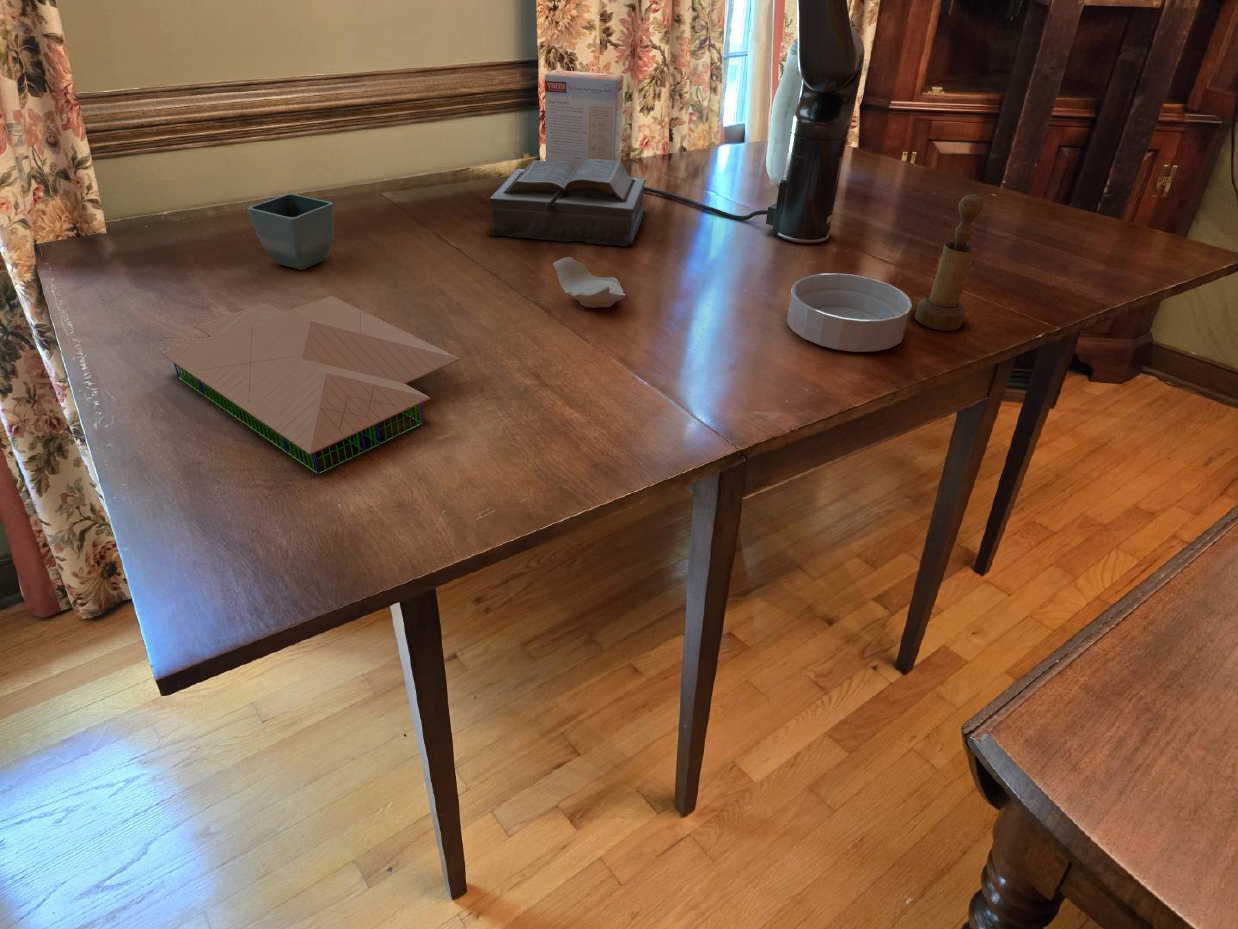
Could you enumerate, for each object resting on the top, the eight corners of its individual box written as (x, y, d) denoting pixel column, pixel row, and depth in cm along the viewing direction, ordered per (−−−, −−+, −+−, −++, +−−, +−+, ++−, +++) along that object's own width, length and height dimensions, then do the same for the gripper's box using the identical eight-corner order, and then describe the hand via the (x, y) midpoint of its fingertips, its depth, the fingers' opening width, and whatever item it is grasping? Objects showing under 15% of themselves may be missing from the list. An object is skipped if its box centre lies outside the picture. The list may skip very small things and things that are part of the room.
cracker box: (620, 187, 166) (625, 73, 154) (613, 195, 161) (617, 79, 149) (553, 179, 168) (553, 67, 156) (545, 188, 163) (543, 72, 151)
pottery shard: (619, 322, 114) (620, 288, 111) (541, 313, 116) (540, 280, 113) (632, 292, 123) (633, 260, 120) (559, 285, 124) (559, 253, 121)
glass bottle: (801, 195, 166) (827, 40, 150) (755, 186, 170) (774, 34, 154) (819, 184, 173) (845, 35, 157) (774, 175, 177) (794, 29, 161)
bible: (621, 257, 134) (624, 196, 129) (472, 233, 141) (468, 174, 135) (661, 215, 153) (665, 160, 147) (527, 195, 159) (526, 142, 153)
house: (323, 312, 113) (313, 254, 108) (487, 396, 96) (483, 333, 92) (156, 369, 98) (136, 306, 94) (315, 481, 82) (300, 410, 77)
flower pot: (343, 259, 129) (334, 201, 124) (303, 278, 122) (292, 218, 117) (300, 248, 132) (289, 192, 127) (258, 266, 125) (245, 207, 120)
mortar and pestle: (964, 333, 115) (1003, 205, 105) (916, 328, 116) (951, 200, 106) (958, 314, 121) (995, 190, 111) (912, 309, 122) (945, 185, 111)
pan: (770, 336, 112) (775, 302, 109) (806, 296, 124) (811, 265, 121) (888, 366, 106) (896, 331, 104) (913, 321, 118) (922, 288, 115)
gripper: (1072, -119, 109) (1032, 19, 118) (961, -123, 114) (931, 10, 124) (1068, -120, 104) (1027, 24, 113) (952, -125, 109) (921, 14, 118)
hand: (977, 17), depth 118 cm, fingers open, 8 cm apart
